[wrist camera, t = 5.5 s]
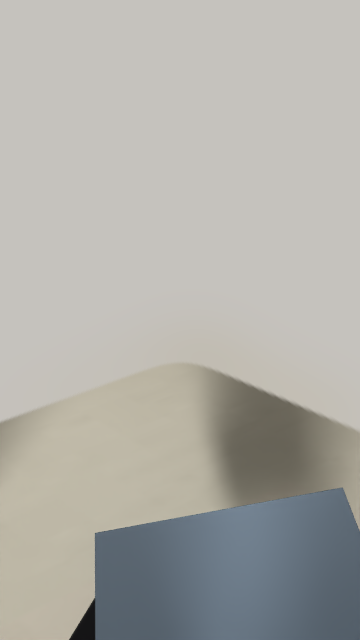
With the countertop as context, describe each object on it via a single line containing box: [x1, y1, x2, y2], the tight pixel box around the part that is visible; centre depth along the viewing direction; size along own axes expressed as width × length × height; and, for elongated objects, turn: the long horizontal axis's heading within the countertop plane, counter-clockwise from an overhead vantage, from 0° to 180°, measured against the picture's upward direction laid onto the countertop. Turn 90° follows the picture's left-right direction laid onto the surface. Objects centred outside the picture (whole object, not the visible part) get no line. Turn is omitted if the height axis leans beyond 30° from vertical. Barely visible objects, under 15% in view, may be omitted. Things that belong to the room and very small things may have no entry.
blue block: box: [95, 488, 360, 640], centre depth 9 cm, size 5×5×9 cm
